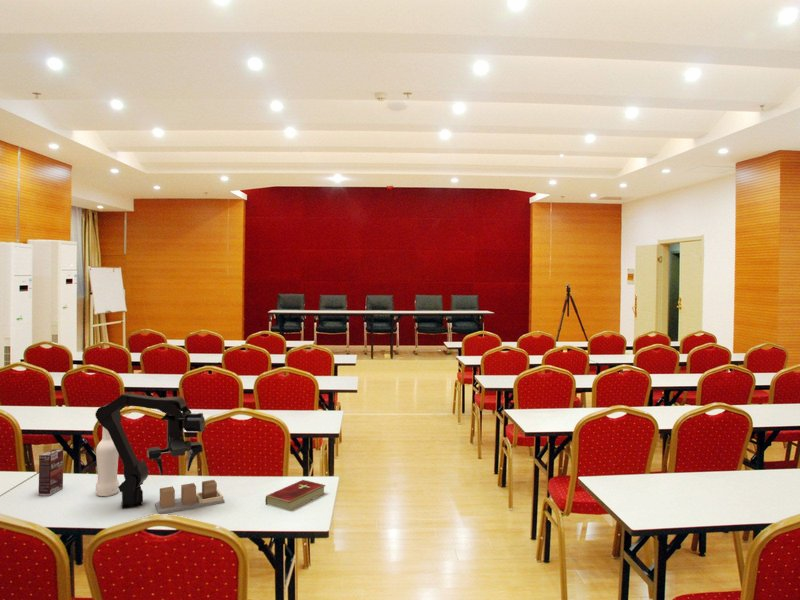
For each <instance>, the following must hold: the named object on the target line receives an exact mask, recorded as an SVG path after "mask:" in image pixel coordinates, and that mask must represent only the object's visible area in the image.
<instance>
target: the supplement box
mask: <svg viewBox="0 0 800 600" xmlns="http://www.w3.org/2000/svg"><path fill="white" fill-rule="evenodd" d="M38 457H39V458H38V496H40V497H51V496H52V495H53V494H56V493H58V492H60V491H61V490H63V488H64V449H58V448H57V449H55V448H54V449H51V450H49V451H47V452H44V453H42V454H39V455H38Z"/></svg>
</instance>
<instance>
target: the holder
mask: <svg viewBox="0 0 800 600" xmlns="http://www.w3.org/2000/svg"><path fill="white" fill-rule="evenodd" d="M180 488H181V489H180V496H181V497H180V498H179V497H178V498H175V497H176V495H175V494H176V490H175V488H174V486H172V485H171V486H166V487H160V488H159V501H157V502H154V506H155V509H156V511H157V514H158V513H159V514H160V515H164V514H170V513H176V512H182V511H187V510H192V509H198V508H203V507H204V508H205V507H209V506H213V505H219V504H220V505H221V504H225V499H224V495H223V494H222V493H221V491H220V490H219V489H217V497H213V498H208V499H203V498H202V491H201V492H197V485H196V484H195V482H192V483H191V482H190V483H185V484H181V487H180ZM159 514H158V515H159Z"/></svg>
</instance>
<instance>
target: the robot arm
mask: <svg viewBox="0 0 800 600" xmlns="http://www.w3.org/2000/svg"><path fill="white" fill-rule="evenodd" d="M126 406H132V407H138V408H139V407H140V408H145V409H152V410H157V411H160V412H162V413H164V416H162V417H161V418H160V420H161V421H166V448H160V446H154V447H148V448H147V450H146V455H147V458H148V459H149V460H152V461H153V462H155V463H156V464H157V467H158V469H159V473H160V475H161V476H164V475H163V474H164V471H163V464H162V463H163V461H162V457H161V456H162V455H168V454H170V455H171V457H172V458H174V457H179V456H185V455H186V452H187V463H186V471H187V472H189V471H190V469H191V466H192V464H193V461H194V459H195V458H196V456H199V454H200V453H203V445H202V444H201V442H199V441H195V442H193V441H191V440H185V439H184V438H185V437H184V431H185V432H186V433H187V432H188V433H193V432H194V433H196V432H197V433H200V432H201V433H203V432H204V431H205V426H206V420H205V417H204V413H203V412H198V413H192V411H191V410H190V408H189V407H188V406H187V404H186V400H185V399H184V398H183V397H182V396H168V397H159V396H158V397H157V396H151V395H144V394H137V393H131V392H126V393H122V394H121V395H119V397H117V398H116V399H114V400H113V401H111V402H110V403H109V402H108V403H107V404H105V405H102V406H100V407H98V408H97V409H96V411H95V413H94V414H95V418H96V420H97V421H98V423H99V424H100V426H102V428H103V427H104V428H105V429H107V430H108V432H109V434H110V436H111V439H112V441H113V443H114V445H115V447H116V449H117V452H118V454H119V455H118V457H119V459H120V460H121V463H122V465H123V477H124V481H123V482H122V483H121V484H119V487H118V488H119V490H118V491H119V493H121V502H120V504H121V509H128V508H134V507H140V506H142V505H143V502H144V500H143V499H144V495H143V494H144V492H143V491H144V490H143V489H142V486H141V485H143V484H144V482H145V480H147V478H148V477H149V470H150V469H149V468H148V466H147V464H146V461H145V460H144V459H143V460H141V461H140V460H139V459H138V458H137V457H136V454H135V452H134V450H133V447H132V445H131V443H130V441H129V439H128V436H127V434H126V432H125V430H124V428H123V426H122V414H121V410H123V409H124V408H125V407H126Z"/></svg>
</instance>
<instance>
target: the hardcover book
mask: <svg viewBox="0 0 800 600" xmlns="http://www.w3.org/2000/svg"><path fill="white" fill-rule="evenodd" d="M325 487H326V484H323V483H319V482H314V481H309V480H305V479H301V480H299V481H296V482H294V483H292V484H290V485H288V486H285V487H283V488H281V489H278V490H276V491H274V492H272V493H269V494H267V495H265V506H270V505H271V507H274V508H278V509H282V510H285V511H289V512H290V511H292V510H294V509H296V508H299V507H300V506H302V505H304V504H307V503H308V502H310V501H312V500H314V499H316V498H318V497H320V495H321V496H322V494H323V495H324V494H325ZM317 496H318V497H317ZM315 497H316V498H315ZM313 498H314V499H313ZM311 499H312V500H311ZM267 504H268V505H267Z"/></svg>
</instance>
